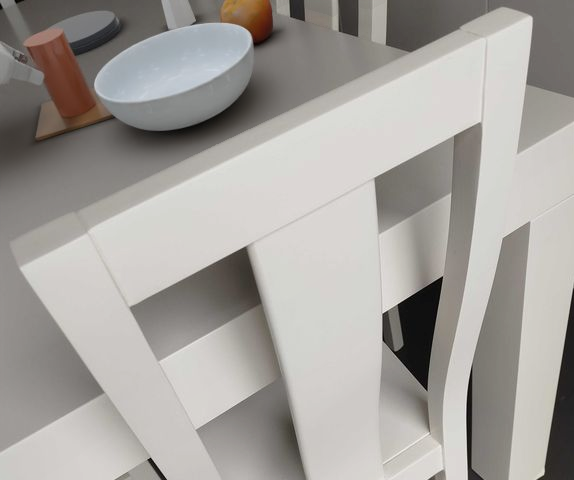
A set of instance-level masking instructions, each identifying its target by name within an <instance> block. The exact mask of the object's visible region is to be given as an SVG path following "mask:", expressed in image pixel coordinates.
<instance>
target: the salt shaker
mask: <svg viewBox="0 0 574 480" xmlns="http://www.w3.org/2000/svg"><path fill="white" fill-rule="evenodd" d="M161 5H162V9H163V13H164V16H165V17H164V18H165V21H166V25H167V30H168V31H170V30H174V29H178V28H182V27H186V26H191V25H194V24H195V23H196V21H197V19H196V18H195V15H194V12H193V10H192V7H191V5H190V2H189V0H161Z"/></svg>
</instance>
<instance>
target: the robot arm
mask: <svg viewBox="0 0 574 480" xmlns="http://www.w3.org/2000/svg"><path fill="white" fill-rule="evenodd" d="M28 58H29V57H28V56H27V55H26V54H25V53H24V52H22V51H19V50H17V49H15V48H13V47H11V46H10V45H8V44H6V43H4V42H3V41H1V40H0V86H8V85H9V84H10V82H11V79H13V80H17V81H21V82H28V83H30V84H32V85H35V86H38V87H40V86H42V85H43V79H44V74H43V73H42V72H41V71H40V70H39V69H36V68H35V66H32V65H27V63H28V60H29V59H28Z"/></svg>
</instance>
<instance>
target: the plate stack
mask: <svg viewBox="0 0 574 480" xmlns="http://www.w3.org/2000/svg"><path fill="white" fill-rule="evenodd" d="M55 28H60V29H62V30H63V31H64V33H65V36H66V38H67V40H68V42H69V44H70V46H71V49H72V51H73V53H74V55H75V56H77V55H80V54H84V53H86V52H89V51H91V50H93V49H96V48H98V47H100V46H102V45H104V44H105V43H107V42H109V41H110V40H112V39H113V38H115V36H117V35H118V34H119V33H120V31H121V29H122V23H121V21H120V19H119V18H118V17H117V16H116V15H115V13H114V12H113V11H110V10H94V11H87V12H84V13H80V14H77V15H74V16H70V17H68V18H66V19H63V20H61V21H59V22H57V23H55V24H53V25H51V26H49V27H48V28H46V29H45V30H49V29H55Z"/></svg>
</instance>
